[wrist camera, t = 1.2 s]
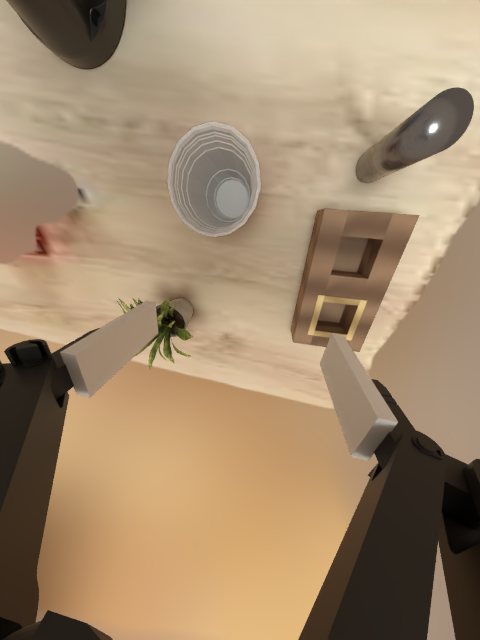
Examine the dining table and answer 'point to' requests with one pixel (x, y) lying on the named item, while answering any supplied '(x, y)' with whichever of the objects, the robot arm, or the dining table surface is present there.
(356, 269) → the hole block
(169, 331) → the house plant
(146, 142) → the dining table surface
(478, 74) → the dining table surface
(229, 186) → the plastic cup
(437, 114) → the pin
